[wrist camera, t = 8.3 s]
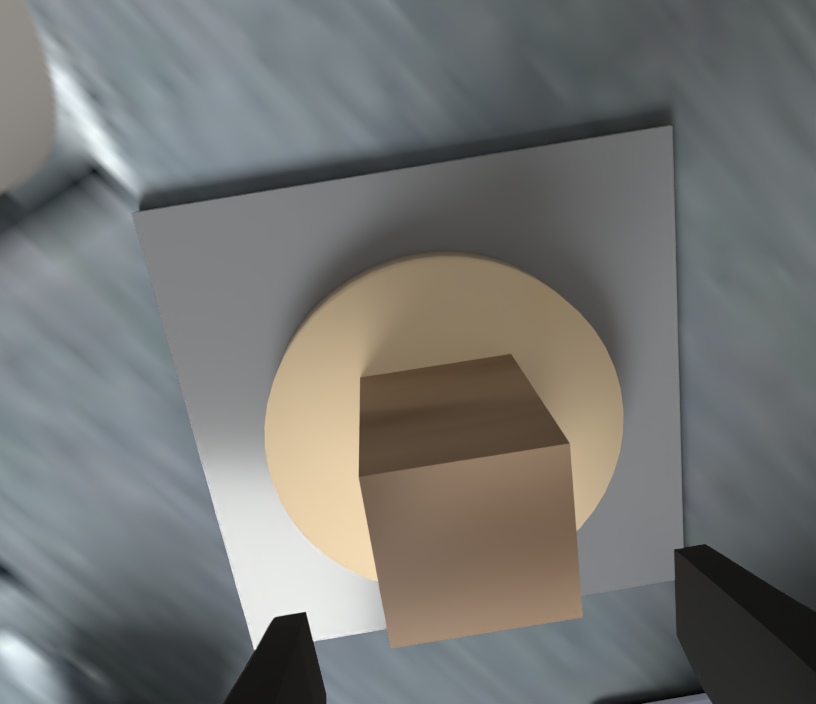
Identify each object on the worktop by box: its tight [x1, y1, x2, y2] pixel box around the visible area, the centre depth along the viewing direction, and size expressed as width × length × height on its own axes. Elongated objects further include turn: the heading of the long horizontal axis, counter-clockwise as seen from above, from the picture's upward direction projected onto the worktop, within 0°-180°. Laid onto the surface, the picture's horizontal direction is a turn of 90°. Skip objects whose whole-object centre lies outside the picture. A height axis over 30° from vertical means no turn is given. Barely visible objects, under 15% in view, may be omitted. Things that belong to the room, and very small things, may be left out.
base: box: [132, 125, 684, 651], centre depth 22 cm, size 16×16×2 cm
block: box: [359, 354, 583, 648], centre depth 18 cm, size 4×4×6 cm
